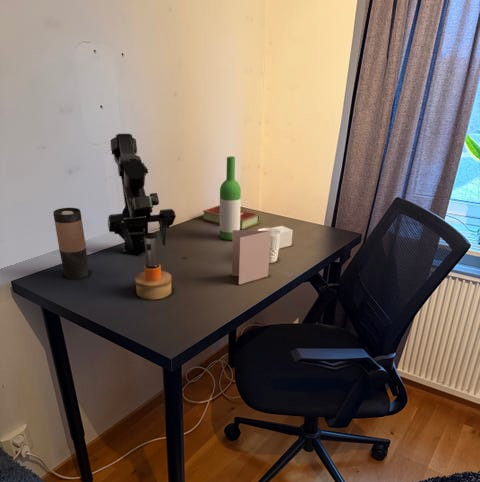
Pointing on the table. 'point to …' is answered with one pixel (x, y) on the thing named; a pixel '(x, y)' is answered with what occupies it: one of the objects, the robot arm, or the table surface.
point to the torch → (151, 258)
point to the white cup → (273, 243)
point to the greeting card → (250, 254)
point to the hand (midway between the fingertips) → (148, 247)
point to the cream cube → (285, 236)
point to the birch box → (153, 286)
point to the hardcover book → (245, 217)
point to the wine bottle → (229, 202)
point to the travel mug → (71, 242)
